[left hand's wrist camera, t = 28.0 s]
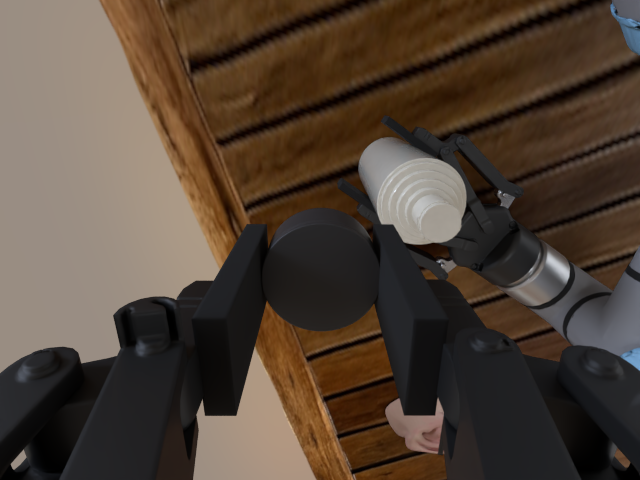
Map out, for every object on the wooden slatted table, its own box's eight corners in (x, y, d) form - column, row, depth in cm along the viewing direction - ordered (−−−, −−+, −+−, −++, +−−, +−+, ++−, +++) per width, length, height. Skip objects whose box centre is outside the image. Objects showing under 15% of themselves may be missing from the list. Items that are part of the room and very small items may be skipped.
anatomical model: (376, 437, 58) (430, 393, 54) (373, 417, 61) (423, 374, 58) (435, 477, 61) (490, 437, 57) (429, 455, 64) (480, 416, 61)
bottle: (351, 188, 48) (374, 258, 27) (368, 130, 45) (407, 158, 24) (406, 202, 48) (470, 281, 27) (425, 145, 46) (513, 185, 25)
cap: (396, 254, 14) (406, 276, 13) (325, 322, 15) (325, 351, 14) (316, 185, 13) (316, 197, 12) (246, 262, 14) (236, 284, 13)
